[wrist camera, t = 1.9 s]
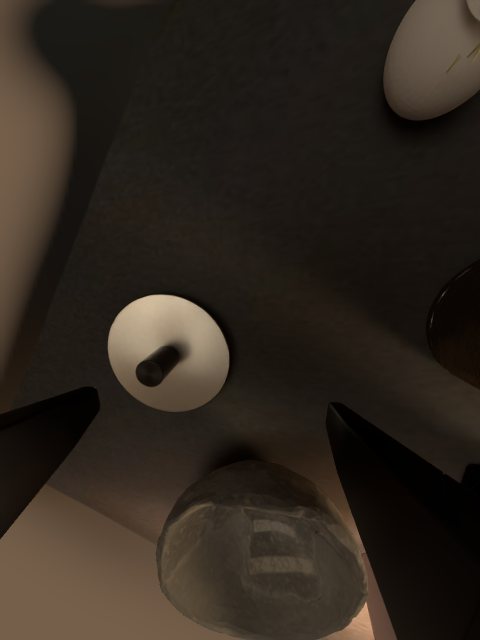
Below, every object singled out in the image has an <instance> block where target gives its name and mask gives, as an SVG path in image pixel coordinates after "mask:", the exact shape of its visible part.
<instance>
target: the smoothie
mask: <svg viewBox="0 0 480 640" xmlns="http://www.w3.org/2000/svg"><path fill="white" fill-rule="evenodd" d="M362 558H363V561H364V564H365V568H366V573H367V585H368V587H367V591H368V594H369V596H368V598H367V600H366V602H367V607H368V611H369V616H370V620H371V625H372V629H373V634H374V638H375V640H397V638H396V635H395V632H394V630H393V627H392V624H391V621H390V618H389V616H388V613H387V610H386V607H385V604H384V602H383V599H382V596H381V593H380V591H379V588H378V585H377V582H376V579H375V577H374V574H373V571H372V568H371V565H370V563H369V560H368V557H367V554H366V553H364V554H363V555H362Z"/></svg>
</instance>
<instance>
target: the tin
mask: <svg viewBox="0 0 480 640" xmlns="http://www.w3.org/2000/svg"><path fill="white" fill-rule="evenodd" d="M427 340H428V344H429V347H430V350H431V352H432V354H433V355H434V357H435V358H436V360H437V361H438V362H439V363H440V364H441V365H442V366H443V367H444V368H446V369H447V370H448V371H449V372H450V373H451V374H453V375H455V376H457V377H458V378H460V379H462V380H464V381H465V382H467V383H469V384H471V385H472V386H474V387H476V388H478V389H479V390H480V260H479V261H477V262H475V263H473V264H472V265H470V266H468V267H466V268H465V269H463V270H462V271H461V272H459V273H458V274H457V275H456V276H454V277H453V278H452V279H451V280H450V281H449V282H448V283H447V284H446V285H445V286H444V287H443V289H442V290H441V291H440V293H439V294H438V296H437V297H436V299H435V301H434V303H433V305H432V307H431V310H430V312H429V316H428V320H427Z"/></svg>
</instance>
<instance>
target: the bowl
mask: <svg viewBox="0 0 480 640" xmlns="http://www.w3.org/2000/svg"><path fill="white" fill-rule="evenodd" d="M156 556H157V559H156V561H157V568H158V577H159V581H160V587H161V590H162V592H163V593H164V595H165V596H166V597H167V599H168V600H169V601H170V602H171V603H172V605H173V606H174V607H175V608H176V609H177V610H178V611H180V612H181V613H182V614H183V615H184V616H186V617H187V618H189V619H191V620H193V621H194V622H196V623H198V624H200V625H201V626H203V627H205V628H208V629H210V630H213V631H216V632H219V633H223V634H227V635H230V636H233V637H237V638H241V639H245V640H316V639H319V638H323V637H326V636H328V635H330V634H332V633H334V632H337V631H340V630H342V629H344V628H345V627H347V626H348V625H349V624H350V622H351V621H352V619H353V618H354V617H356V616H357V615H358V614H359V612H360V611H361V609H362V608H363V607H364V604H365V602H366V600H367V598H368V596H369V594H368V591H367V587H368V585H367V573H366V568H365V564H364V561H363V558H362V555H361V552H360V550H359V547H358V545H357V543H356V540H355V538H354V536H353V534H352V532H351V530H350V528H349V527H348V525H347V524H346V522H345V520H344V519H343V517H342V516H341V514H340V513H339V511H338V510H337V508H336V507H335V505H334V504H333V503H332V502H331V500H330V499H329V498H328V497H327V495H326V494H324V493H323V492H322V491H321V490H320V489H319V488H317V487H316V486H315V485H314V484H313V483H312V482H311V481H309V480H308V479H306V478H304V477H302V476H300V475H298V474H296V473H294V472H292V471H291V470H289V469H288V468H286V467H284V466H282V465H278V464H274V463H268V462H264V461H256V460H244V461H240V462H236V463H232V464H229V465H226V466H223V467H221V468H219V469H217V470H215V471H213V472H211V473H209V474H207V475H205V476H204V477H203V478H201V479H200V480H198V481H197V482H195V483H194V484H193V485H191V486H190V487H189V488H187V489H186V491H185V492H184V493H183V494H182V495H181V496H180V497H179V499H178V500H177V502H176V503H175V505H174V507H173V509H172V511H171V513H170V514H169V516H168V518H167V520H166V522H165V524H164V527H163V531H162V533H161V535H160V537H159V540H158V545H157V550H156Z"/></svg>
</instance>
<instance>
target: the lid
mask: <svg viewBox="0 0 480 640" xmlns="http://www.w3.org/2000/svg"><path fill="white" fill-rule="evenodd" d="M108 355H109V360H110V364H111V366H112V369H113V371H114V373H115V375H116V377H117V379H118V380H119V382H120V383H121V384H122V386H123V387H124V388H125V389H126V390H127V391H128V392H129V393H130V394H131V395H132V396H133V397H135V398H136V399H137V400H139V401H141V402H142V403H144V404H146V405H148V406H150V407H153V408H156V409H159V410H163V411H170V412H182V411H188V410H192V409H195V408H198V407H200V406H202V405H204V404H206V403H207V402H209V401H210V400H211V399H213V398H214V397H215V396H216V395H217V394H218V392H219V391H220V389H221V388H222V386H223V384H224V383H225V380H226V378H227V375H228V371H229V366H230V351H229V346H228V342H227V339H226V336H225V334H224V332H223V330H222V328H221V326H220V325H219V323H218V322H217V321H216V319H215V318H214V317H213V316H212V315H211V314H210V313H209V312H208V311H207V310H206V309H204V308H203V307H202V306H200V305H199V304H197V303H196V302H194V301H192V300H190V299H187V298H184V297H181V296H177V295H173V294H154V295H149V296H145V297H142V298H139V299H137V300H135V301H133V302H131V303H130V304H129V305H127V306H126V307H125V308H124V309H123V310H122V311H121V312H120V313H119V314H118V316H117V317H116V318H115V320H114V322H113V324H112V326H111V329H110V332H109V337H108Z"/></svg>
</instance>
